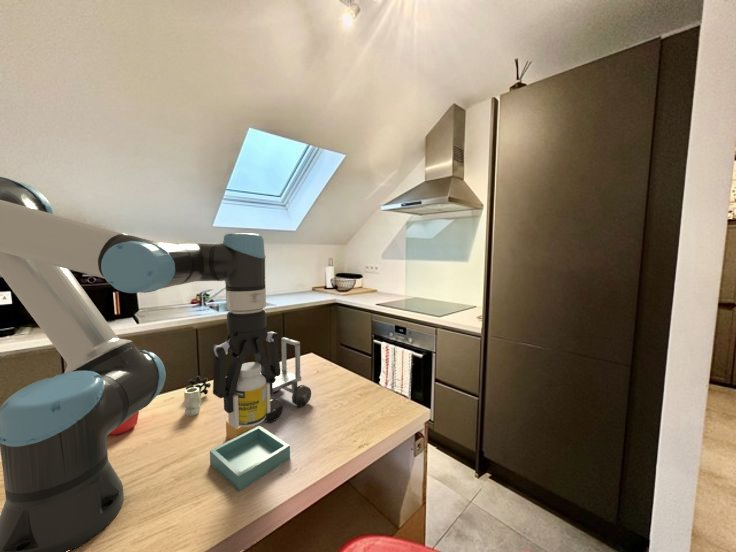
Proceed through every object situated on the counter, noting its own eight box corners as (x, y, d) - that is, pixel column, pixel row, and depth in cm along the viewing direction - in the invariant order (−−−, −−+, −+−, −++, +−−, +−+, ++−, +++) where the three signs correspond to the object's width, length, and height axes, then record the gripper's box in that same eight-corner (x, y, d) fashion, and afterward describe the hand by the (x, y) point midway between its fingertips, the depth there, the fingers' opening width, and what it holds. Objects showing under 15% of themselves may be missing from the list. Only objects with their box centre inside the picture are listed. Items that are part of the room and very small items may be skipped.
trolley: (264, 426, 77) (263, 358, 76) (234, 406, 87) (232, 346, 85) (311, 402, 90) (310, 343, 88) (280, 387, 99) (279, 334, 97)
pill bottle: (226, 425, 62) (224, 370, 61) (247, 409, 68) (246, 359, 67) (253, 431, 60) (251, 374, 59) (273, 414, 66) (271, 362, 65)
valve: (205, 414, 83) (211, 394, 94) (204, 391, 82) (210, 374, 93) (177, 419, 80) (186, 398, 91) (176, 395, 80) (185, 377, 91)
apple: (132, 417, 81) (130, 388, 80) (147, 426, 77) (145, 396, 76) (94, 432, 74) (91, 401, 73) (107, 443, 70) (105, 410, 69)
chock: (237, 445, 70) (236, 428, 70) (226, 437, 73) (225, 421, 73) (253, 436, 73) (252, 421, 73) (242, 429, 76) (241, 414, 76)
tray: (239, 491, 57) (238, 476, 56) (210, 464, 64) (209, 450, 63) (290, 458, 66) (289, 445, 65) (259, 437, 73) (259, 425, 73)
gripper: (205, 321, 52) (211, 448, 54) (296, 305, 67) (298, 404, 69) (187, 315, 56) (193, 432, 59) (276, 301, 72) (278, 395, 74)
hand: (250, 417), depth 64 cm, fingers closed on pill bottle, 6 cm apart
